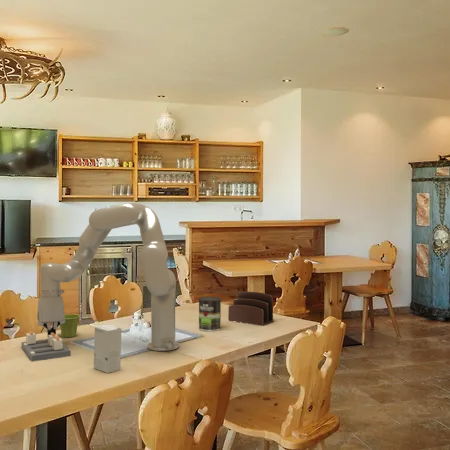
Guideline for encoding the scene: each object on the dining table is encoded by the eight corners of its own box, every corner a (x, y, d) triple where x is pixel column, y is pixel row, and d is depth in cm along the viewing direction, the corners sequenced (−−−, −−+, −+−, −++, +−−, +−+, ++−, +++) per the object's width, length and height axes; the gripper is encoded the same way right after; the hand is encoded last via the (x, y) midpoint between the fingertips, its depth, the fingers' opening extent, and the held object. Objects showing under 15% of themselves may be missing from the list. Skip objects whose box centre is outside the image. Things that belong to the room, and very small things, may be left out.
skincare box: (93, 368, 185) (92, 326, 184) (107, 364, 189) (106, 323, 189) (108, 373, 179) (107, 330, 179) (122, 369, 184) (121, 326, 183)
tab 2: (58, 344, 207) (58, 333, 207) (50, 345, 206) (50, 334, 206) (56, 342, 210) (55, 332, 210) (48, 343, 209) (48, 332, 209)
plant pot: (68, 339, 225) (67, 319, 224) (52, 336, 230) (52, 317, 229) (84, 335, 233) (84, 315, 232) (69, 332, 238) (69, 313, 237)
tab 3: (62, 349, 201) (62, 337, 201) (54, 350, 200) (54, 338, 200) (60, 346, 204) (60, 335, 204) (52, 347, 203) (52, 336, 203)
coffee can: (215, 332, 237) (215, 301, 236) (195, 330, 241) (194, 299, 240) (224, 327, 246) (224, 297, 246) (204, 325, 250) (204, 295, 250)
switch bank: (70, 355, 201) (70, 350, 201) (31, 361, 194) (31, 355, 194) (57, 342, 220) (57, 337, 220) (21, 347, 213) (21, 342, 213)
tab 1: (36, 343, 210) (35, 332, 210) (28, 344, 208) (27, 333, 208) (34, 341, 213) (34, 330, 213) (26, 342, 212) (26, 331, 211)
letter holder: (238, 317, 268) (238, 289, 268) (273, 322, 257) (273, 293, 257) (228, 321, 260) (227, 292, 259) (263, 326, 249) (263, 296, 248)
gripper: (67, 290, 221) (68, 334, 222) (29, 294, 213) (30, 339, 214) (71, 293, 214) (72, 338, 215) (33, 297, 207) (34, 343, 208)
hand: (51, 338), depth 215 cm, fingers closed
